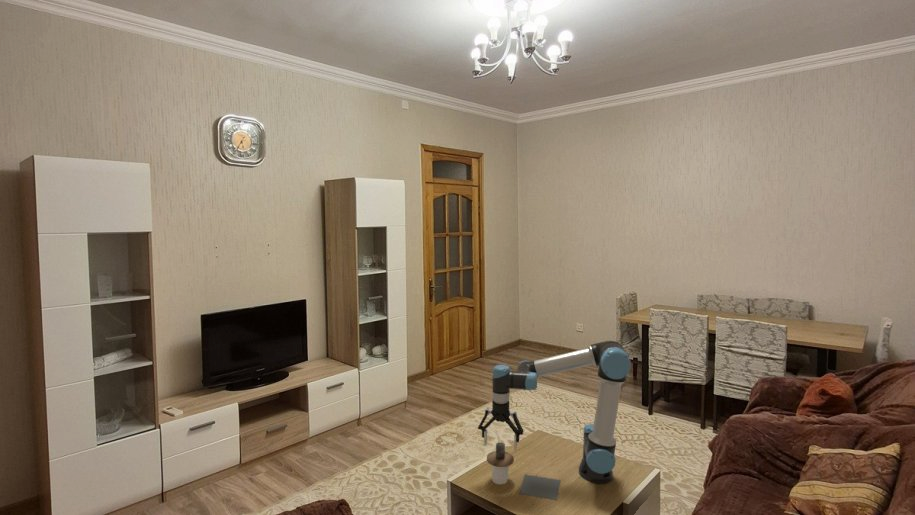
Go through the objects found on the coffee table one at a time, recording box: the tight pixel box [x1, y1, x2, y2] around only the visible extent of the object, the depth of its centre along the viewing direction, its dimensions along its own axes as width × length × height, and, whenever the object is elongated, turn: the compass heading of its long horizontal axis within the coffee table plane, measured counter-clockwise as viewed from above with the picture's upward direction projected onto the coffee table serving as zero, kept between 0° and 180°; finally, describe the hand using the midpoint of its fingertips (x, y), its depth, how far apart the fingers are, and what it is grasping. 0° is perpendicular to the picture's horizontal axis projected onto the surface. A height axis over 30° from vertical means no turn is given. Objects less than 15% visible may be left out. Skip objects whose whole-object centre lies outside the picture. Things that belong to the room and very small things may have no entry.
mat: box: [518, 474, 561, 501], centre depth 216 cm, size 16×16×1 cm
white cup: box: [491, 465, 510, 485], centre depth 221 cm, size 8×8×10 cm
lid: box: [486, 442, 515, 467], centre depth 220 cm, size 12×12×7 cm
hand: (500, 446), depth 219 cm, fingers open, 13 cm apart
